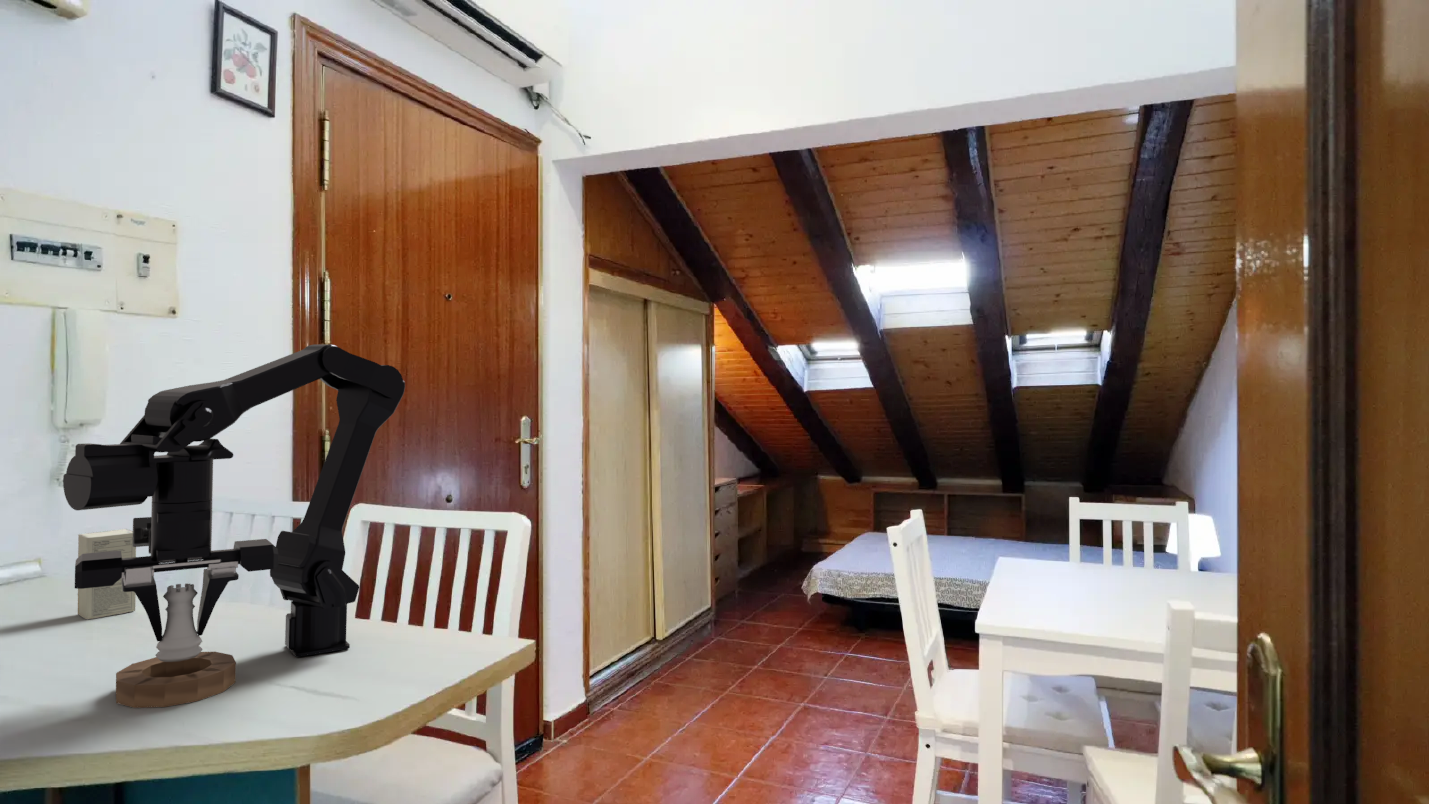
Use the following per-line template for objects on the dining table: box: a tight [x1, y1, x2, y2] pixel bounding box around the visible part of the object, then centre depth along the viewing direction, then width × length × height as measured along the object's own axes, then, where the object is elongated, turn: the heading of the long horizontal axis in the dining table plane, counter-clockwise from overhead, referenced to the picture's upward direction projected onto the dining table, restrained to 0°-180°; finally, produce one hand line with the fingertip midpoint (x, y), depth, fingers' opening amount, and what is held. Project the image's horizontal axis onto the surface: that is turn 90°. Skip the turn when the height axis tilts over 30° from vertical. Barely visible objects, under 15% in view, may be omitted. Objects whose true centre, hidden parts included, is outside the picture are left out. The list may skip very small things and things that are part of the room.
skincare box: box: [77, 528, 137, 620], centre depth 117 cm, size 6×4×12 cm
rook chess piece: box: [154, 582, 204, 662], centre depth 89 cm, size 4×4×8 cm
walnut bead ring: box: [115, 651, 237, 709], centre depth 89 cm, size 11×11×2 cm
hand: (179, 637), depth 89 cm, fingers closed on rook chess piece, 3 cm apart
